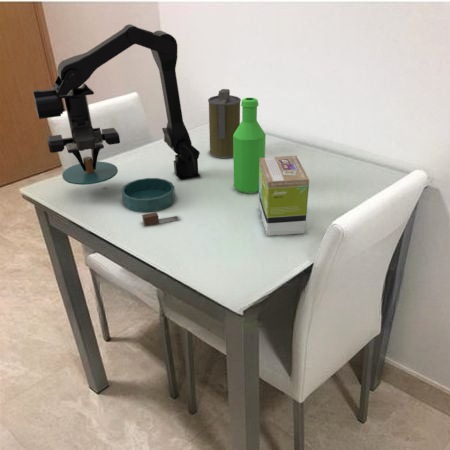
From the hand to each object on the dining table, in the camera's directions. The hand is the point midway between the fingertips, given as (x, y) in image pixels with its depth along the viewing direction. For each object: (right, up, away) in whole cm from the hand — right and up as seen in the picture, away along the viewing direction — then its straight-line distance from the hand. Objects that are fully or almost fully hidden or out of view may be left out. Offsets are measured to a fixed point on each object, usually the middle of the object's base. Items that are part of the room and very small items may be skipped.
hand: (89, 170), depth 139 cm
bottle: (+45, -4, +5) cm, 46 cm away
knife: (+22, -16, -11) cm, 29 cm away
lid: (0, -1, +1) cm, 1 cm away
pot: (+17, -9, -1) cm, 19 cm away
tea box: (+53, -17, -12) cm, 56 cm away
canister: (+38, +13, +28) cm, 49 cm away
